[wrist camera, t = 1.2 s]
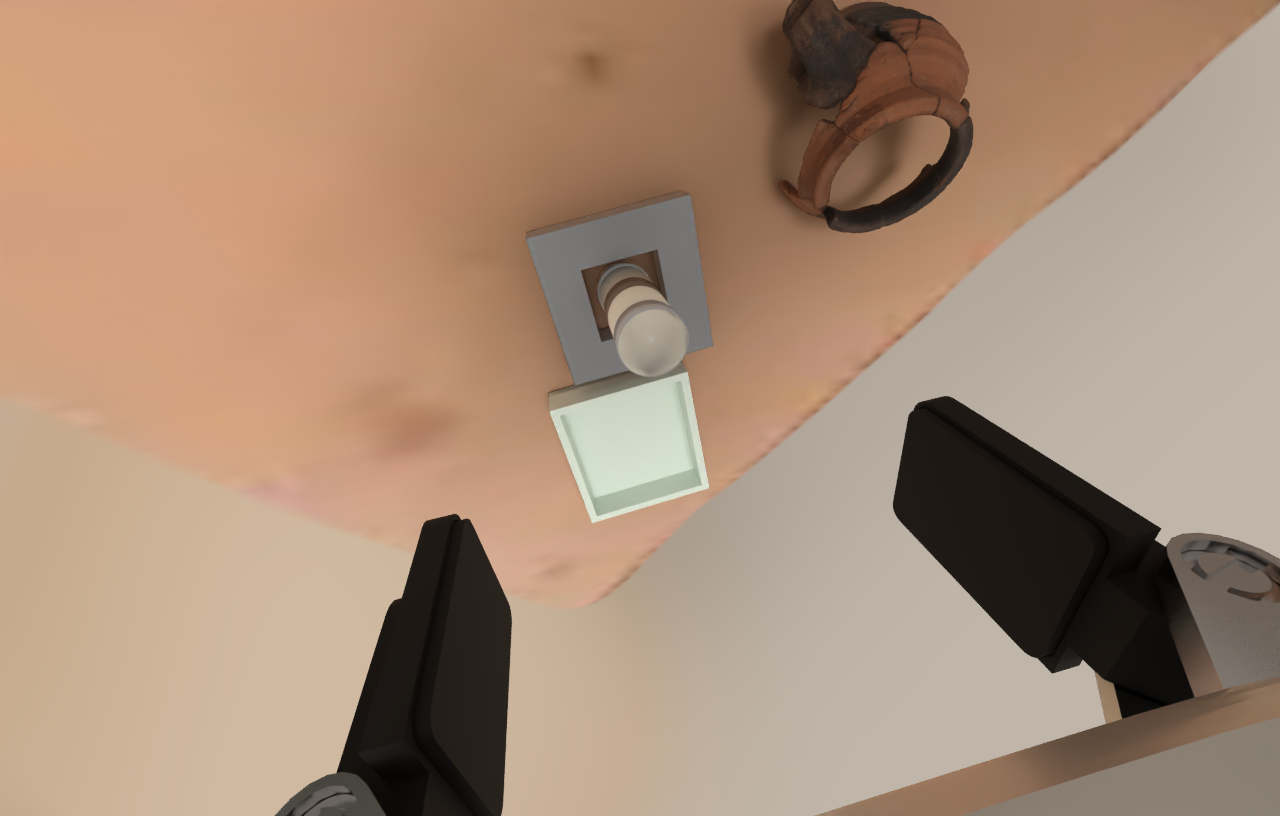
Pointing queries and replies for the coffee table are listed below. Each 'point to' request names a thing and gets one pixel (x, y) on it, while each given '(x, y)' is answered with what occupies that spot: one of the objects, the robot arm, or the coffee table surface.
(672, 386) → the parts tray
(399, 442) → the coffee table surface
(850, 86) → the pottery mug
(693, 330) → the socket block
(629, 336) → the cylinder
